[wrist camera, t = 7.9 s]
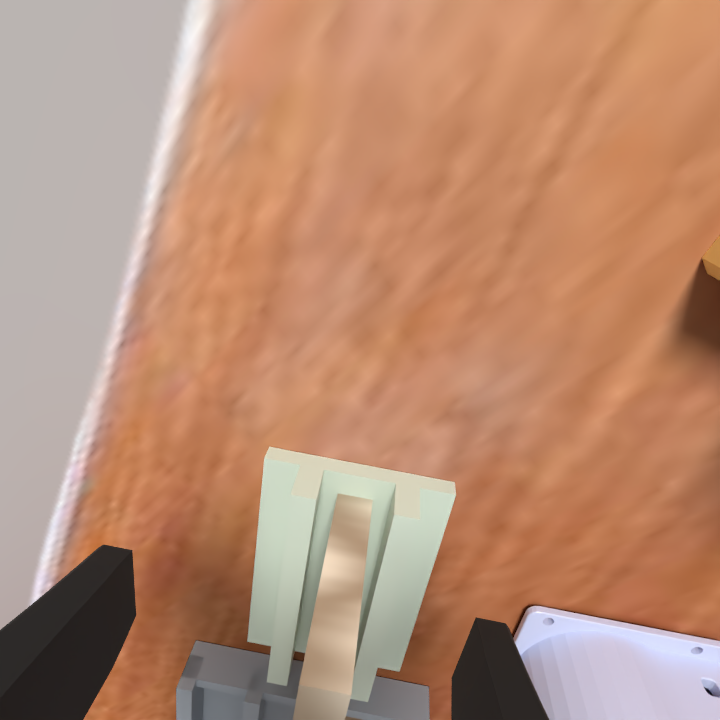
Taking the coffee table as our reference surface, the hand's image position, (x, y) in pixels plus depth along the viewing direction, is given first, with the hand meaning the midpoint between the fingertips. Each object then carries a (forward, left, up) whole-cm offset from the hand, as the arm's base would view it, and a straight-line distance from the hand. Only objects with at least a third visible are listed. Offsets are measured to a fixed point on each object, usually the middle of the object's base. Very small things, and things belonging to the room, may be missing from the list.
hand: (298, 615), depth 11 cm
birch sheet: (-1, +10, -10) cm, 14 cm away
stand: (-1, +10, -10) cm, 14 cm away
